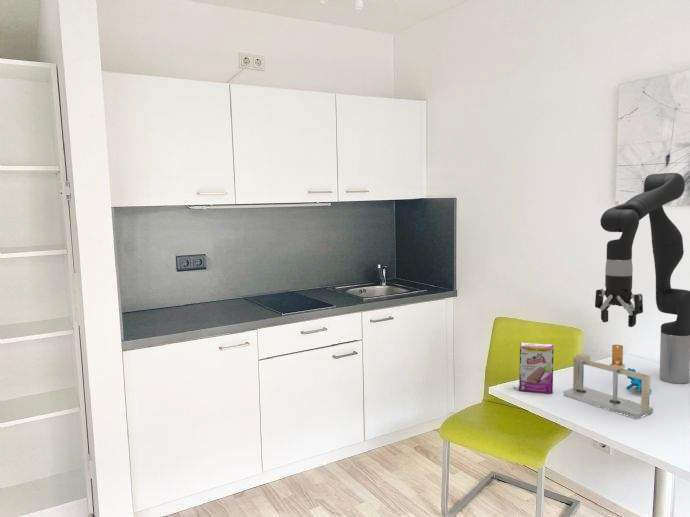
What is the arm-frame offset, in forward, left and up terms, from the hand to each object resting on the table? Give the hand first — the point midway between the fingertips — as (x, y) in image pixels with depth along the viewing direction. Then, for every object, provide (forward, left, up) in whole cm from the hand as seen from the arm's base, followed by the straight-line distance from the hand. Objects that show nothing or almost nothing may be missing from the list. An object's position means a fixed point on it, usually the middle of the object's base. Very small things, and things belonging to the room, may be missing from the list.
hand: (617, 324), depth 165 cm
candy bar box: (+9, -24, -27) cm, 37 cm away
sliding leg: (0, 0, -25) cm, 25 cm away
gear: (-18, -3, -27) cm, 33 cm away
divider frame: (+1, -3, -27) cm, 27 cm away
